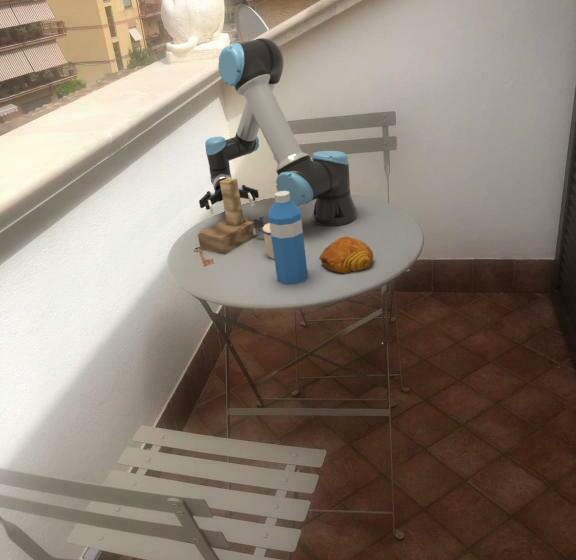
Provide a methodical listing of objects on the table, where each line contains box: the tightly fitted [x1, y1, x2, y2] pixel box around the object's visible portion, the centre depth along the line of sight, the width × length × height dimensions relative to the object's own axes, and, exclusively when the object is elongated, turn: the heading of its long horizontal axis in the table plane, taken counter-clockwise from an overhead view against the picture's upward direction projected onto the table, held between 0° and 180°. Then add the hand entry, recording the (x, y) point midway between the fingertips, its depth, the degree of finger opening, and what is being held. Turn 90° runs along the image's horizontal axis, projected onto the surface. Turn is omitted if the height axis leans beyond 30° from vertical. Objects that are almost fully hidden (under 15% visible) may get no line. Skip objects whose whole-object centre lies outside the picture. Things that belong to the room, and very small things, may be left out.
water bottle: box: [268, 191, 309, 285], centre depth 158 cm, size 9×9×25 cm
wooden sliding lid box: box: [197, 219, 257, 255], centre depth 190 cm, size 16×11×5 cm
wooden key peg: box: [220, 177, 245, 227], centre depth 190 cm, size 4×4×20 cm
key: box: [193, 246, 215, 267], centre depth 184 cm, size 6×1×15 cm
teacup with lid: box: [262, 222, 275, 260], centre depth 177 cm, size 12×9×12 cm
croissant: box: [319, 236, 374, 274], centre depth 167 cm, size 14×16×8 cm
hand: (232, 206), depth 188 cm, fingers open, 13 cm apart
